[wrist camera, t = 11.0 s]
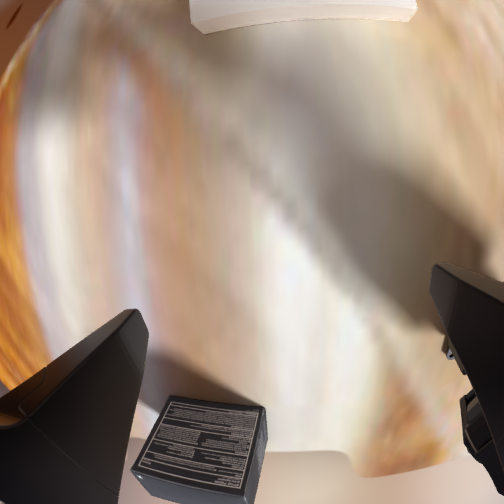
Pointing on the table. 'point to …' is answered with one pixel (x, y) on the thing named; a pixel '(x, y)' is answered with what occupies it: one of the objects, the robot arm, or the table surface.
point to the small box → (204, 453)
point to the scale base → (292, 11)
